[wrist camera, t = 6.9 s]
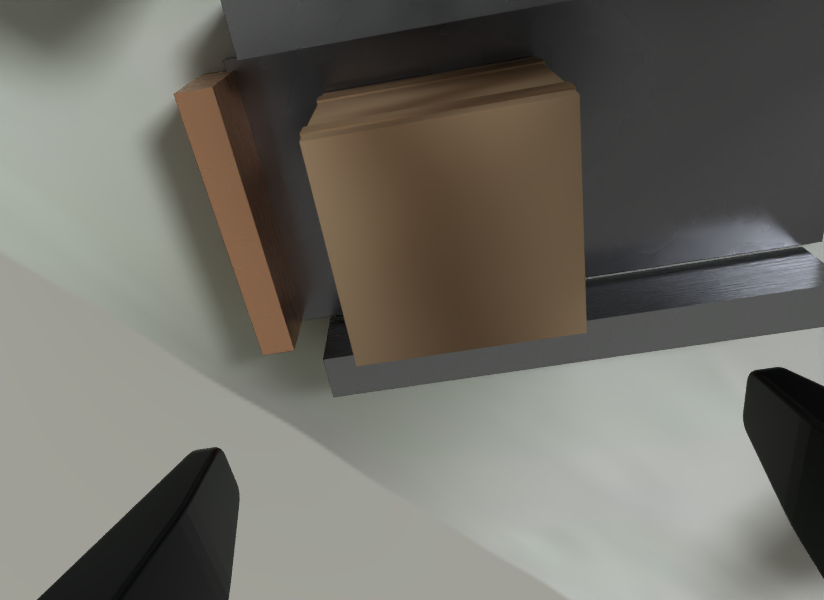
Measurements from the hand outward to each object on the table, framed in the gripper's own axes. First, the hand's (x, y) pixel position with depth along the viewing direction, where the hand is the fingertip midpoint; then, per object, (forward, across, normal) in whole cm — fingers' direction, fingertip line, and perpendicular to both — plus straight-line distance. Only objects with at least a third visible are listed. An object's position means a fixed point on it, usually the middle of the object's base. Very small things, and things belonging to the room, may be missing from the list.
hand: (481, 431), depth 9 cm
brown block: (+12, 0, 0) cm, 12 cm away
